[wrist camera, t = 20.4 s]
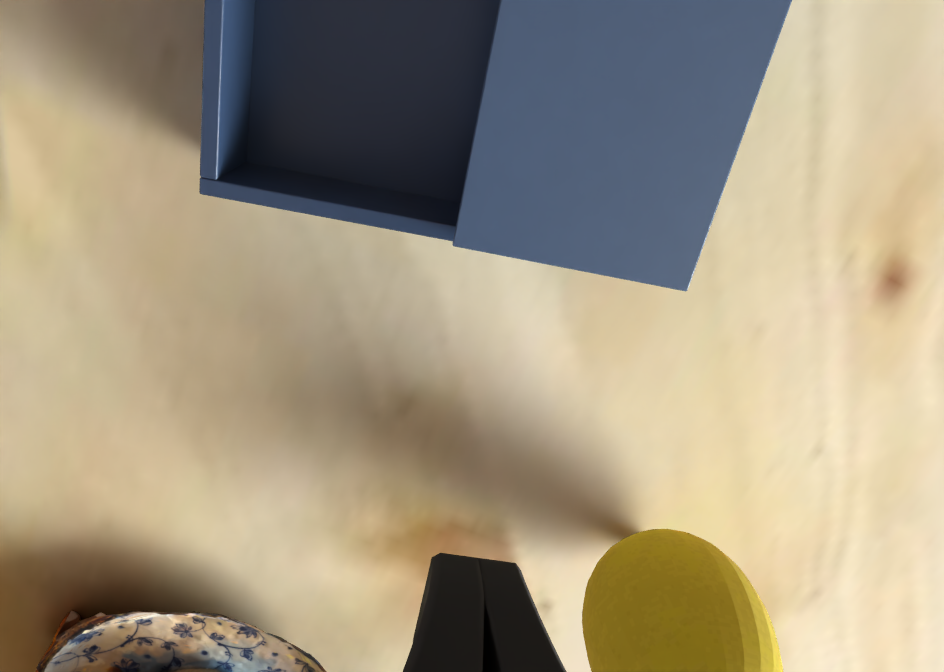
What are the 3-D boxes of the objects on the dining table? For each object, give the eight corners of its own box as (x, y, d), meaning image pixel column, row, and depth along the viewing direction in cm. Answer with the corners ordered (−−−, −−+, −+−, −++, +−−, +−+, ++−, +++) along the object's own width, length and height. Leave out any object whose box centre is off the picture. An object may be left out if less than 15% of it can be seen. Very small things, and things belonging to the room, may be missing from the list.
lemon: (649, 453, 22) (744, 661, 15) (749, 537, 24) (880, 762, 16) (533, 548, 24) (568, 778, 16) (635, 621, 25) (707, 858, 18)
